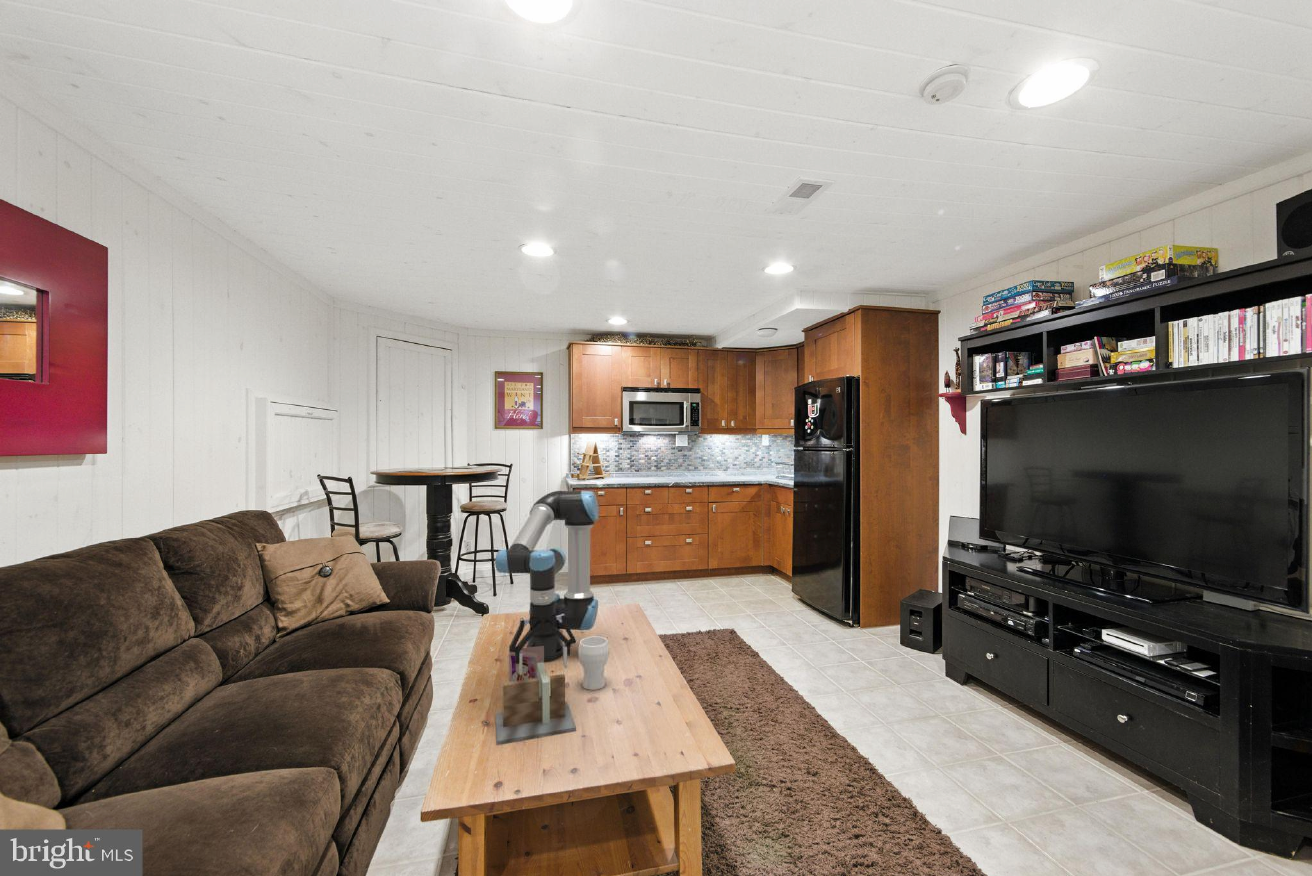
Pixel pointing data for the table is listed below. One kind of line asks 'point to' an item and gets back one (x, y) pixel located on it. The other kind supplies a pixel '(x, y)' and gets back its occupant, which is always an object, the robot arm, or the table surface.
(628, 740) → the table surface
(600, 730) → the table surface
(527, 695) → the wood panel stand
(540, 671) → the sage plate
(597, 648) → the cup
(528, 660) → the greeting card
